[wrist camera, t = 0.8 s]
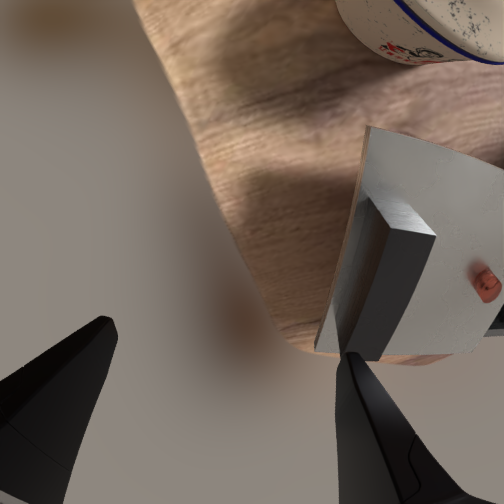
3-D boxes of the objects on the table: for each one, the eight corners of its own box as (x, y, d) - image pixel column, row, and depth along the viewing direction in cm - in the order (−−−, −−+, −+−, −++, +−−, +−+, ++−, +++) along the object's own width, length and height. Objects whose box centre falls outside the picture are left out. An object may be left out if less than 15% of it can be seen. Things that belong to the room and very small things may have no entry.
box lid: (542, 188, 10) (580, 215, 7) (468, 344, 17) (484, 381, 13) (365, 125, 11) (397, 138, 8) (314, 342, 17) (316, 391, 14)
